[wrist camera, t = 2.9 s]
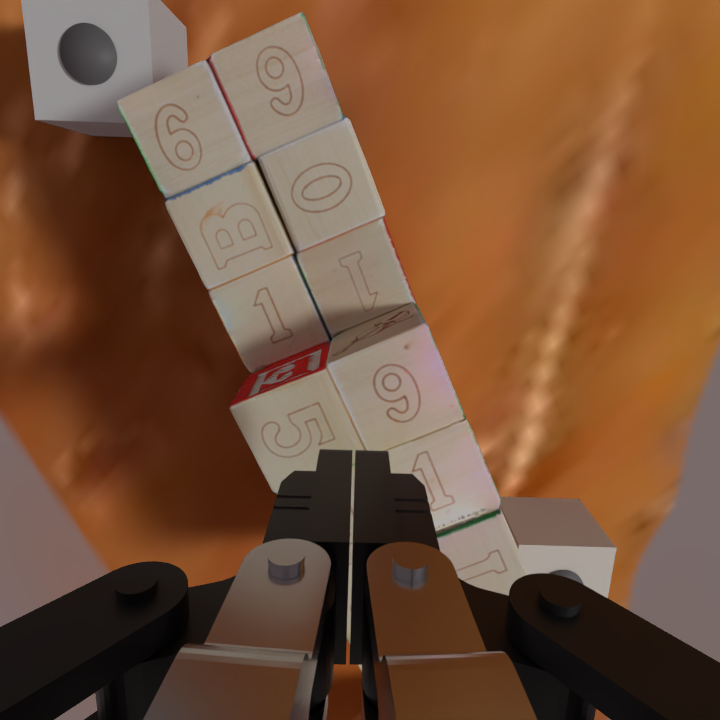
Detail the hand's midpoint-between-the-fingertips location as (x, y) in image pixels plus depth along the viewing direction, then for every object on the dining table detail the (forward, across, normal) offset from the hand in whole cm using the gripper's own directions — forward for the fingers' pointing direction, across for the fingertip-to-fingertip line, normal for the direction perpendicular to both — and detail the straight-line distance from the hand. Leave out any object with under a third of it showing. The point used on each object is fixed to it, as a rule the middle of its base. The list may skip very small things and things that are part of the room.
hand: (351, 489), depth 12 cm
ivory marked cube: (+16, -10, +11) cm, 22 cm away
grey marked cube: (+16, +10, -11) cm, 22 cm away
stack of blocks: (+16, 0, 0) cm, 16 cm away
